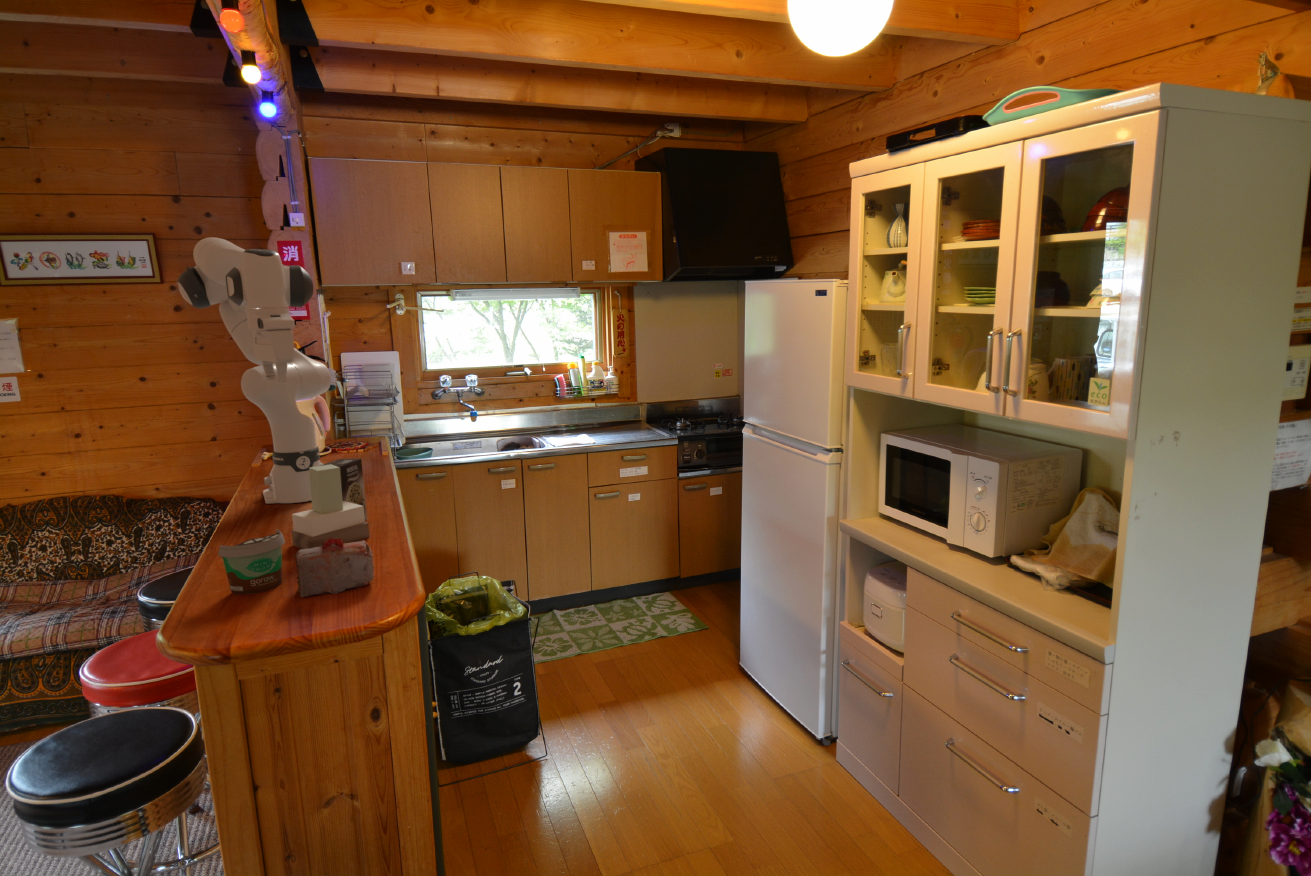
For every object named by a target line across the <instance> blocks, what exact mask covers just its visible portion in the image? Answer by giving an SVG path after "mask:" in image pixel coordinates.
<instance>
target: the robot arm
mask: <svg viewBox="0 0 1311 876" xmlns="http://www.w3.org/2000/svg"><path fill="white" fill-rule="evenodd" d="M192 257H193V260H194V262H195V266H191V267H189V266H186V267H185V270H184V271H183V272H182V273H181V274H180V275H179V277H178V278H177V284H178V290H179V294H180V295H181V297H182V299H184V300H185V302H187V303H188V304H189V305H191V306H192V307H193V308H195V309H207V308H210V307H211V306H213V305H216V304H217V305H218V304H219V307H218V311H219V314H220V317H221V319H222V320H221V321H222V322H223V324H224V326H225V328H226V330H227V331H228V333H229V334H230V336H231V338H232V339H233V341H234V342H235V344H236V345H237V346H238V348H239V350H240V352H242V354H243V356H244V357H245V358H246V359H247V360H248V361H249V362H251V363H253V364H255V365H257V366H254V367H252V368H248V369H246V370H245V371H244V372H243V374H242V376H241V381H240V387H241V391H242V394H243V395H244V397H245V398H246V400H248V401H249V402H251V403H252V404H253V405H256V407H258V408H259V409H260V410H261V411H262V413H263V414H264V416H265V417H266V420H267V422H268V424H269V427H270V431H271V437H272V445H273V451H272V463H273V466H272V468H271V471H270V472H269V475H268V476H266V477H264V478H263V481H264V485H265V486H268V488H266V489H263V490H262V491H263V492H262V495H263V498H264V502H265V504H295V503H303V502H304V503H305V502H309V501H310V502H312V498H311V486H310V474H309V468H310V467H316V466H320V465H323V464H324V463H322V462H321V461H320V459H321V457H320V453H321V452H320V449H319V447H318V445H317V437H316V434H317V433H316V428H315V427H316V426H315V422H314V420H313V419H312V418H311V417H310V416H309V415H307V414H304V413H302V412H301V411H300V410H299V408H298V405H297V401H300V400H301V401H302V400H306V399H307V400H308V399H312V398H315V397H318V396H320V395H323V394H325V393H327V391H328V390H329V389H330V387H331V386H332V385H331V384H332V375H331V372H330V369H328V367H327V366H326V365H325V363H323V362H321V361H318V360H315V359H313V358H311V357H310V356H307V355H306V354H305V353H303V352H301V351H299V349H297V348H295V344H294V343H295V342H294V331H293V330H295V328H296V327H295V325H296V324H295V319H293V317H292V316H291V314H290V313H291V312H290V308H302V307H304V306H305V305H307V304H308V302H310V300H311V299H312V298H313V295H314V283H313V279H312V277H311V275H310V273H309V272H308V271H307V270H305V269H304V268H303V267H302V266H300V265H294V264H293V265H285V264H283V263H282V259H281V256H280V254H279V252H276V251H275V250H272V249H265V248H248V249H244V248H242V247H240V246H238V245H236V244H234V243H232V242H231V241H229V240H227V239H224V238H221V237H220V238H219V237H214V236H212V237H205V238H203V239H200V240H199V241H198V242H197V243H196V244H195V245H194V248H193V255H192Z"/></svg>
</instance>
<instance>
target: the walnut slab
mask: <svg viewBox="0 0 1311 876" xmlns="http://www.w3.org/2000/svg"><path fill="white" fill-rule="evenodd" d="M369 526H370V525H369V522H367V521H365V522H364V523H360V524H357V525H353V526H349V527H346V528H342V529H339V530H335V531H331V532H328V533H324V534H321V535H317V536H313V537H312V536H309V535H305V534H302V533H299V532H296V531H294V529H291V539H292V546H294V547H296V548H298V549H299V550H301V549H310V548H314V547H321V546H323V542H324V541H325V540H328V539H331V538H333V539H341V540H342V541H343V544H345V543H352V542H358V541H363V540H366V539H369V538H370V535H371V534H370V527H369Z"/></svg>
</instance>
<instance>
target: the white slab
mask: <svg viewBox="0 0 1311 876" xmlns="http://www.w3.org/2000/svg"><path fill="white" fill-rule="evenodd" d="M291 516H292V517H291V518H292V527H293V530H294V531H296V532H299V533H302V534H305V535H309V536H312V537H313V536H317V535H321V534H324V533H328V532H331V531H335V530H339V529H342V528H346V527H349V526H353V525H357V524H360V523H364V522H366V520H365V517H364V507H363V506H362V505H358V504H354V503H350V502H346V501H343V510H339V511H334V512H329V513H323V514H320V513H318V512H316V511H314V510H312V509H308V510H304V511H298V512H295V513H292V514H291Z"/></svg>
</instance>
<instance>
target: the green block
mask: <svg viewBox="0 0 1311 876" xmlns="http://www.w3.org/2000/svg"><path fill="white" fill-rule="evenodd" d="M309 474H310V486H311V498H312V500H311V508H312V510H314V511H316V512H318V513H320V514H323V513H329V512H334V511H339V510H343V501H342V488H341V475H340V467H337V466H334V465H331V464H330V465H323V466H316V467H310V468H309Z"/></svg>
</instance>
